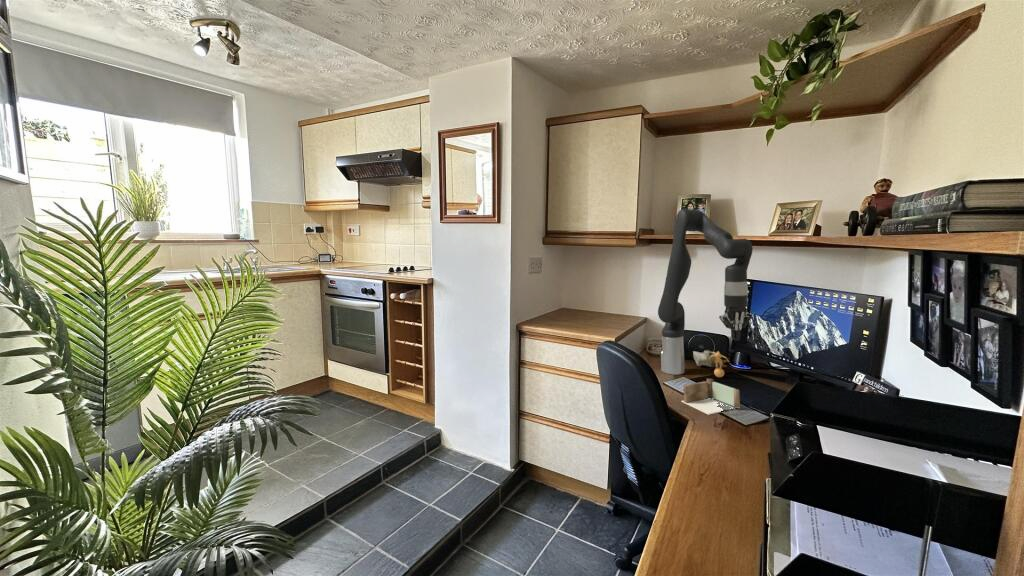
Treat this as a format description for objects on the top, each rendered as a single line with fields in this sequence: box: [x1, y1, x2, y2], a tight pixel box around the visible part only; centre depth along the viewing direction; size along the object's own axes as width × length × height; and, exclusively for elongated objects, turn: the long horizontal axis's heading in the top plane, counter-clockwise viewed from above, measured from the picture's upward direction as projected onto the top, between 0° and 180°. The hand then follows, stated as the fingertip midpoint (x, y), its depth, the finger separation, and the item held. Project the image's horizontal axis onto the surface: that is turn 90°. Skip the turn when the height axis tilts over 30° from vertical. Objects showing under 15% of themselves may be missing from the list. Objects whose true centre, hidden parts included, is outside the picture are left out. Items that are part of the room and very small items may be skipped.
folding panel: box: [712, 381, 741, 408], centre depth 142 cm, size 11×2×6 cm, turn 19°
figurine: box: [708, 350, 730, 378], centre depth 170 cm, size 8×6×12 cm
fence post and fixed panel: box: [683, 378, 715, 404], centre depth 147 cm, size 13×2×7 cm, turn 106°
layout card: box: [681, 399, 741, 416], centre depth 143 cm, size 14×14×1 cm
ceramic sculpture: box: [692, 349, 728, 369], centre depth 187 cm, size 11×9×15 cm
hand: (735, 339), depth 146 cm, fingers closed
